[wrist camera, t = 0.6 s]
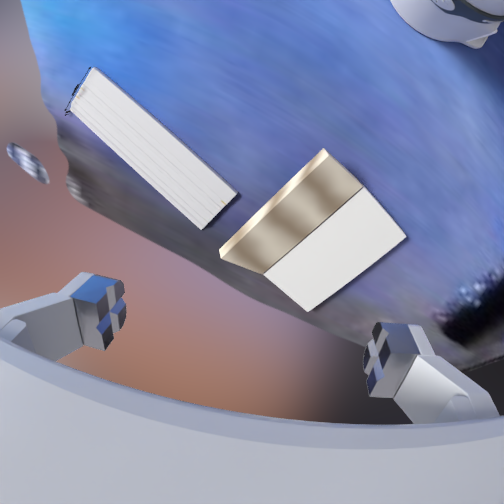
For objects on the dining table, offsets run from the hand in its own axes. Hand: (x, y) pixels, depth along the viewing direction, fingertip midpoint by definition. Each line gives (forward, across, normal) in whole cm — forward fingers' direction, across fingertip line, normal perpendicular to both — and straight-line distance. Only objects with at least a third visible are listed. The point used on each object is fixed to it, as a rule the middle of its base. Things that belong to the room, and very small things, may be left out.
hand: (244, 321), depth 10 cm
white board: (+37, -10, +12) cm, 40 cm away
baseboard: (+38, +20, 0) cm, 43 cm away
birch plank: (+34, -2, +7) cm, 35 cm away
